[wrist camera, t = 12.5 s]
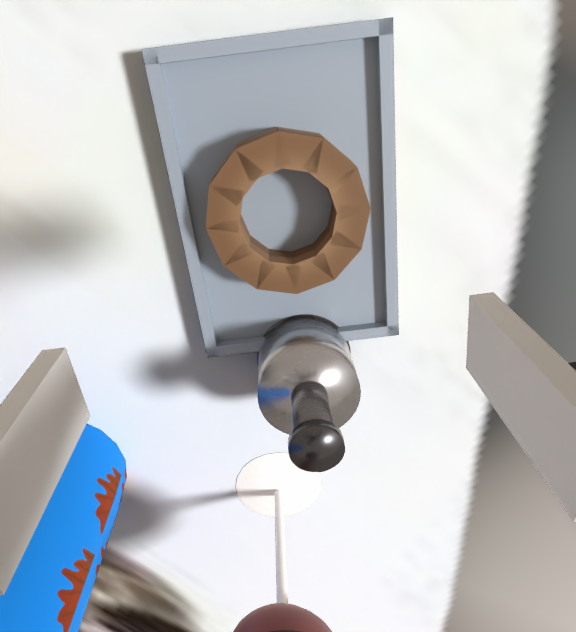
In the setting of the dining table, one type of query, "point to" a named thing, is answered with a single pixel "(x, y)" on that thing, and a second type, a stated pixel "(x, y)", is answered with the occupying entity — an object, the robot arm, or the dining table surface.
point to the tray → (282, 185)
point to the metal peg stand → (308, 388)
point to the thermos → (67, 541)
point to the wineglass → (278, 534)
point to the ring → (305, 263)
